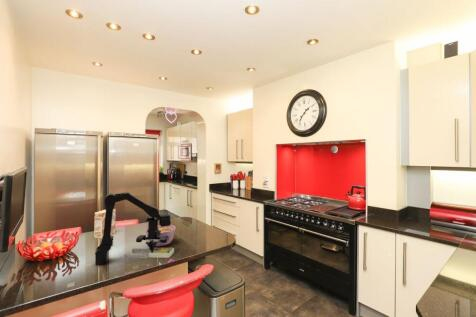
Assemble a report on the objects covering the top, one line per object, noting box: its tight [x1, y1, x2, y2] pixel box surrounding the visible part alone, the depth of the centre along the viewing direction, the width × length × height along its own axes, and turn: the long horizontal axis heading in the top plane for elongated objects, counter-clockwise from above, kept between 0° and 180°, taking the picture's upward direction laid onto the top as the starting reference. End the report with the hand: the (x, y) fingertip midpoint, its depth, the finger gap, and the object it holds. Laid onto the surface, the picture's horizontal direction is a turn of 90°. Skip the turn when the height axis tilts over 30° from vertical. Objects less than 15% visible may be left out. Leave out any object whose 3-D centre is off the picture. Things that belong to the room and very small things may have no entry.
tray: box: [148, 247, 175, 259], centre depth 142 cm, size 9×13×3 cm
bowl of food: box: [145, 224, 176, 247], centre depth 161 cm, size 20×20×12 cm
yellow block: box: [160, 247, 169, 253], centre depth 142 cm, size 4×4×3 cm
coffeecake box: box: [93, 208, 117, 240], centre depth 179 cm, size 15×7×20 cm, turn 171°
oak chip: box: [153, 247, 161, 253], centre depth 142 cm, size 4×4×3 cm
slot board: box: [124, 247, 152, 259], centre depth 142 cm, size 11×14×2 cm
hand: (152, 252), depth 142 cm, fingers closed
